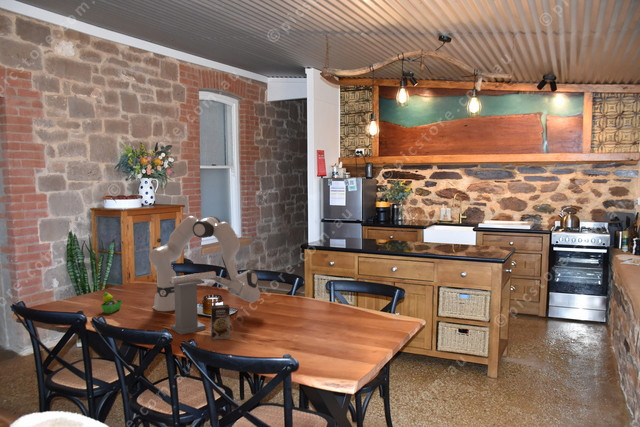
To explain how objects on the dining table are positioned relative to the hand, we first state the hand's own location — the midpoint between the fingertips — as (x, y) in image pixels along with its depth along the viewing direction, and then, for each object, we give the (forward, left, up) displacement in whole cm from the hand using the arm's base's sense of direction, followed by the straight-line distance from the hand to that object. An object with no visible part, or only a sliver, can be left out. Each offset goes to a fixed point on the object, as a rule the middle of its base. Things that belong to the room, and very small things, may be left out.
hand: (216, 278), depth 275 cm
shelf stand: (+12, -12, -25) cm, 30 cm away
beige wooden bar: (+10, -9, +1) cm, 13 cm away
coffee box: (+23, +9, -25) cm, 35 cm away
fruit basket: (-17, -71, -25) cm, 77 cm away
